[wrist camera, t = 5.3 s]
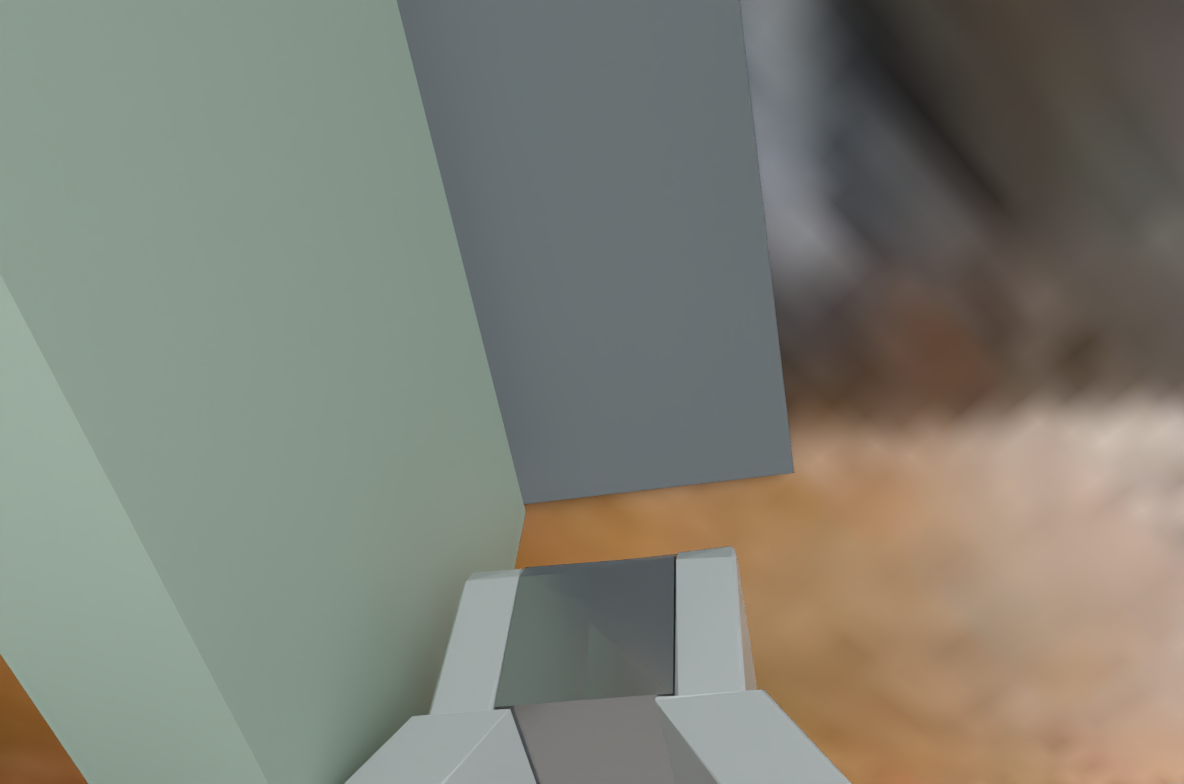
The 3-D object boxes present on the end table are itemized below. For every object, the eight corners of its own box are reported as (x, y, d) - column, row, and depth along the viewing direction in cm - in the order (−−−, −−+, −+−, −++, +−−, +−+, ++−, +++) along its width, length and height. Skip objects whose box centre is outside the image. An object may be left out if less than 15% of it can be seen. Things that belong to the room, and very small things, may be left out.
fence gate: (220, -206, 9) (-568, -187, 3) (338, -229, 9) (-275, -250, 3) (444, 519, 14) (276, 1059, 8) (525, 512, 14) (413, 1060, 8)
